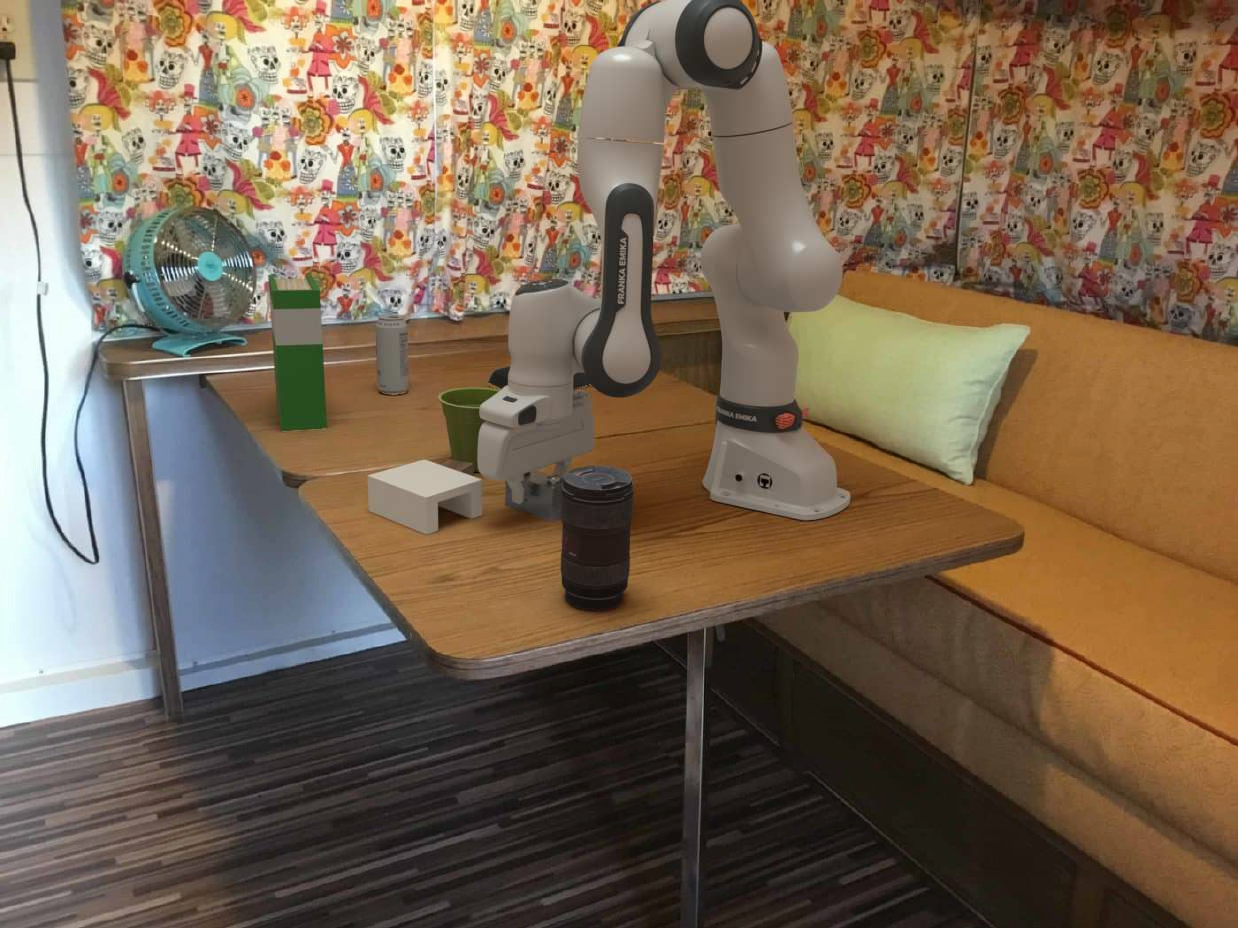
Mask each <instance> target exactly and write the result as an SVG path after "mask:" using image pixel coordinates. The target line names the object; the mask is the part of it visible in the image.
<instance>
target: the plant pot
mask: <svg viewBox="0 0 1238 928" xmlns="http://www.w3.org/2000/svg"><path fill="white" fill-rule="evenodd" d="M499 391H500V390H498V389H495V388H491V387H488V388H487V387H459V388H458V387H457V388H452V389H448V390H445V391H442V392H440V393H439V394H438V395H437V400H438V402H440V403H441V407H442V411H443V412H442V414H443V416H444V417H445V423H446V430H447V436H448V443H449V449H450V454H451V460H456V461H462V462H468V463H473V473H475V472H476V473H480V472H479V470H478V436H479V431H480V428H481V426H482V424H483V423H484V422H485V421H486V420H484V419H481V418H480V415H479V408H480V406H481V404H482V403H484V402H485V401H487V400H488V399H490V398H491V397H492V396H494V395H495V394H497V393H498V392H499Z"/></svg>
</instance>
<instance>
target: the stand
mask: <svg viewBox="0 0 1238 928" xmlns="http://www.w3.org/2000/svg"><path fill="white" fill-rule="evenodd" d="M367 492H368V493H367V496H368V511H369V512H371V513H373V514H376V515H378V516H380V517H382V518H385V519H388V520H390V521H392V522H395V523H397V524H400V525H401V526H404V527H406V528H410V529H412V530H414V531H417V532H419V533H421V534H424V535H430V534H433V533H435V532H438V531H439V507H440V508H442V509H444V510H448V511H450V512H453V513H456V514H458V515H460V516H463V517H466V518H469V519H476V518H479V517H481V516H483V479H482V478H478V477H476V476H474V475H473V476H471V475H468V474H465V473H462V472H459V471H456V470H453V469H450V468H448V467H445V466H442V465H441V464H438V463H436V462H433V461H430V460H427V459H421V460H418V461H414V462H411V463H407V464H403V465H400V466H396V467H393V468H390V469H386V470H381V471H377V472H375V473H372V474H368V475H367Z"/></svg>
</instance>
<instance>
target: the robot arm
mask: <svg viewBox="0 0 1238 928" xmlns="http://www.w3.org/2000/svg"><path fill="white" fill-rule="evenodd" d="M584 87H585V88H584V91H583V97H582V102H581V108H580V113H579V114H580V115H579V123H578V134H577V138H578V139H577V151H576V152H577V154H576V156H577V159H576V160H577V172H578V181H579V182H578V183H579V188H580V193H581V195H582V197H583V199H584V201H585V202H586V204H587V207H588V208H589V210H590V212H591V214H592V216H593V218H594V220H595V223H596V226H597V228H598V231H599V237H600V240H601V241H600V242H601V243H600V244H601V274H600V276H601V277H600V280H601V281H600V299H596V298H594V297H592V296H590V295H588V294H586V293H585V292H583V291H581V290H579V289H578V288H577V287H575V286H574V285H573V284H572V283H571V282H569V280H567V279H563V278H544V279H539V280H538V279H537V280H533V281H530V282H527V283H525V284H523V285H521V286H520V287H519V288H518V289H517V290H516V291H515V292H514V294H513V296H512V299H511V302H510V310H509V318H508V335H507V336H508V338H507V339H508V340H507V341H508V343H507V347H508V352H509V355H510V366H511V367H510V370H509V373H508V385H507V386H505V387H504V388H503V389H501V390H500V391H499V392H498V393H497V394H495V395H494V396H492V397H491V398H490V399H488V400H487V401H485V402H484V403H482V404H481V406H480V408H479V415H480V418H481V419H484V420H486V421H485V422H484V423H483V424H482V426H481V428H480V431H479V436H478V470H479V472H478V473H480V474H481V476H482V477H484V478H486V479H489V480H491V481H493V482H499V483H500V482H503V481H505V482H506V481H507V483H508V485H509V486H510V488H511V490H512V501H513V502H515V503H518V504H521V503H524V502H526V501H528V490H527V489H523V486H522V484H521V482H520V481H523V480H524V474H525V473H528V472H531V471H534V470H539V469H542V468H546V467H549V466H551V465H555V466H554V469H553V471H552V475H553V474H554V475H559V476H560V478H562V479H563V478H564V475H565V473H567V472H568V471H570V470H569V469H570V468H571V465H572V459H573V458H576V457H580V456H583V455H586V454H588V453H591V452H592V450H593V449H594V446H595V444H596V435H595V434H596V430H595V418H594V412H593V409H592V398H591V396H590V395H589V393H588V392H586V391H585V390H584V389H576V390H575V391H574V389H573V376H574V374H576V373H579V372H584V373H585V374H586V377H587V379H588V381H589V382H590V384H591V385H592V387H593V389H595V390H596V391H598V392H599V393H601V394H603V395H605V396H607V397H612V398H617V399H618V398H620V399H621V398H622V399H623V398H629V397H632V396H635V395H637V394H640V393H641V392H643V391H644V390H645V389H647V388H648V387H649V386H650V385H651V384H652V383H653V382H654V380H655V379H656V378H657V375H658V374H659V371H660V369H661V365H662V349H661V343H660V340H659V338H658V336H657V332H656V330H655V327H654V326H655V325H654V322H653V318H652V291H653V290H652V288H653V287H652V286H653V285H652V283H653V263H654V262H653V261H654V260H653V259H654V228H655V221H656V219H655V218H656V213H657V212H656V211H657V204H658V195H659V189H660V182H661V174H662V167H663V160H664V159H663V158H664V149H665V148H664V147H665V144H664V143H665V137H666V117H667V113H668V109H669V106H670V103H671V101H672V99H673V97H674V96H675V94H676V92H677V91H678V90H690V89H695V88H698V89H699V90H700V91H701V94H702V95H703V96H704V98H705V101H706V103H707V105H708V109H709V119H710V120H709V122H710V131H711V138H712V139H711V141H712V146H713V147H712V148H713V157H714V162H715V163H714V164H715V171H716V176H717V177H716V178H717V184H718V189H719V192H720V195H721V197H722V198H723V199H724V201H725V202H726V203H727V204H728V206H729V207H730V208H731V210H732V211H733V213H734V215H735V217H736V219H737V221H738V223H734V224H728V225H723V226H720V227H719V228H717V229H715V230H713V231H712V232H711V234H709V236H708V237H707V238H706V240H705V241H704V242H703V245H702V247H701V251H700V269H701V271H702V274H703V277H704V279H705V280H706V282H707V283H708V284H709V286H710V288H711V291H712V294H713V297H714V301H715V305H716V310H717V315H718V318H719V319H718V321H719V325H720V332H721V340H722V347H721V348H722V355H721V356H722V357H721V374H720V375H721V376H720V389H719V393H718V394H717V395H716V401H715V402H716V404H715V412H714V413H715V415H714V417H715V418H714V419H715V421H714V422H715V427H716V429H715V435H714V440H713V446H712V450H711V455H710V458H709V462H708V465H707V468H706V471H705V474H704V476H703V479H702V485H703V487H704V489H706V490H707V491H708V492H709V498H710V500H712V501H714V502H717V503H722V504H727V505H732V506H736V507H741V508H745V509H750V510H755V511H758V512H759V511H760V512H764V513H768V514H772V515H777V516H781V517H787V518H791V519H795V520H801V521H811V520H812V521H813V520H820V519H825V518H827V517H830V516H833V515H835V514H837V513H840V512H841V511H842V510H845V509H846V508H847V507H848V506H849V505H850V503H851V493H850V491H848V490H846V489H843V488H841V487H838V476H837V467H836V462H835V459H834V457H832V456H831V454H829V453H828V451H827V450H825V449H824V448H823V447H822V445H820V443H818V442H817V440H816V439H815V438H814V437H813V436H812V435H811V434H810V433H809V432H808V431H807V430H806V429H805V428H804V427H803V424H804V423H803V418H804V417H806V416H809V415H810V413H808V412H809V410H810V407H806V408H803V409H801V408H800V406H799V405H798V402H797V400H796V398H795V395H796V386H797V385H796V384H797V374H798V364H799V363H798V362H799V347H798V344H797V342H796V340H795V339H794V337H793V336H792V334H791V332H790V330H789V328H788V325H787V321H786V318H785V314H784V313H807V312H808V313H811V312H817V311H820V310H822V309H824V308H825V307H827V306H828V305H829V304H830V303H831V302H832V301H833V300H834V299H835V298H836V295H838V293H839V290H840V289H841V285H842V281H843V273H844V272H843V271H844V270H843V269H844V268H843V261H842V259H841V256H840V254H839V253H838V251H837V250H836V249H835V248H834V246H833V245H831V243H830V242H829V241H828V240H827V238H826V237H825V236H824V234H823V232H822V231H821V229H820V227H819V225H818V223H817V221H816V219H815V217H814V215H813V211H812V210H811V206H810V204H809V201H808V199H807V197H806V194H805V191H804V186H803V184H802V180H801V175H800V170H799V169H800V168H799V160H798V153H797V146H796V145H797V144H796V135H795V127H794V116H793V110H792V108H793V107H792V103H791V102H792V101H791V97H790V96H791V95H790V91H789V87H788V82H787V78H786V74H785V71H784V66H783V63H782V60H781V57H780V55H779V53H778V50H777V49H776V48H775V47H774V46H773V45H772V44H770V43H768V42H767V41H763V40H762V38H761V36H760V34H759V30H758V25H757V24H756V20H755V18H754V16H753V14H752V13H751V11H750V10H749V8H748V7H747V5H746V4H745V3H744V2H743V1H741V0H661V1H660V0H659V1H654V2H651V3H649V4H646V5H644V7H641V8H640V9H639V10H637V11H636V12H635V13H634V15H632V17H631V18H630V19H629V21H628V22H627V24H626V26H625V28H624V30H623V32H622V35H621V38H620V41H619V42H618V44H617V46H616V47H612V48H609V49H608V48H607V49H606V50H604V51H602V52H600V53H599V54H598V55H596V56H595V58H594V59H593V60H592V62H591V64H590V67H589V70H588V74H587V78H586V81H585V86H584Z"/></svg>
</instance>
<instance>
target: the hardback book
mask: <svg viewBox="0 0 1238 928" xmlns="http://www.w3.org/2000/svg"><path fill="white" fill-rule="evenodd" d="M267 277H268V290H269V291H268V292H269V307H270V308H269V309H270V320H271V321H270V324H271V335H272V350H273V351H272V353H273V366H274V369H273V370H274V380H275V395H276V408H277V407H278V408H277V414H278V413H279V414H278V418H280V419H279V424H280V423H281V425H280V428H281V429H282V430H281V432H282V431H291V430H292V431H293V430H308V429H309V430H310V429H322V428H327V429H328V422H327V418H328V417H327V402H326V400H327V399H326V386H325V385H326V381H325V368H324V367H325V364H324V360H325V359H324V344H323V342H324V341H323V326H322V323H323V322H322V307H321V306H322V304H321V290H320V288H319V286H318V284H317V282H316V280H315V278H314V277H313V274H312V273H311V274H305V277H306V278H275V275H274V274H267Z"/></svg>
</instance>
